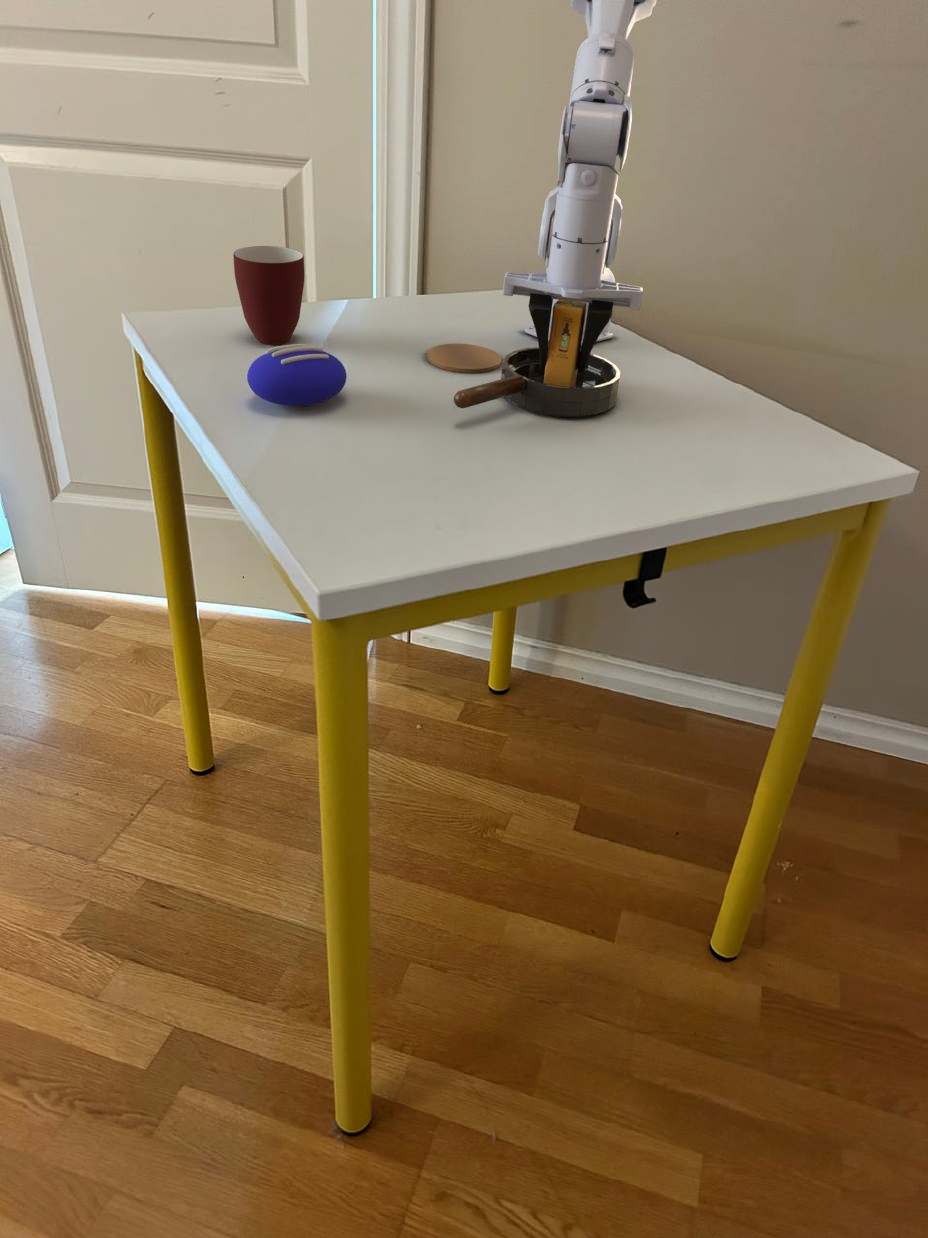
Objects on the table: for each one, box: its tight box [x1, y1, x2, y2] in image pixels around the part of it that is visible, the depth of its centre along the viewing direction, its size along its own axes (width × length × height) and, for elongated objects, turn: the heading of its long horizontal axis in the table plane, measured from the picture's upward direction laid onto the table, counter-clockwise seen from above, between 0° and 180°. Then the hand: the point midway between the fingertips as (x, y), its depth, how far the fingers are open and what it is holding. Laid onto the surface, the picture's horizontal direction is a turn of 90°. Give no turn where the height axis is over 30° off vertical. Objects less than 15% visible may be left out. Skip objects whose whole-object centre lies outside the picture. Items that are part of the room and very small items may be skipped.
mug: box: [232, 245, 306, 346], centre depth 106 cm, size 11×8×10 cm
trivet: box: [427, 343, 502, 374], centre depth 107 cm, size 9×9×1 cm
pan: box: [500, 346, 621, 418], centre depth 99 cm, size 13×13×4 cm
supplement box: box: [543, 300, 587, 387], centre depth 97 cm, size 3×3×10 cm
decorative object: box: [246, 343, 348, 407], centre depth 92 cm, size 10×6×10 cm
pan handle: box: [453, 375, 526, 409], centre depth 92 cm, size 10×2×2 cm, turn 133°
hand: (561, 367), depth 98 cm, fingers closed on supplement box, 3 cm apart
